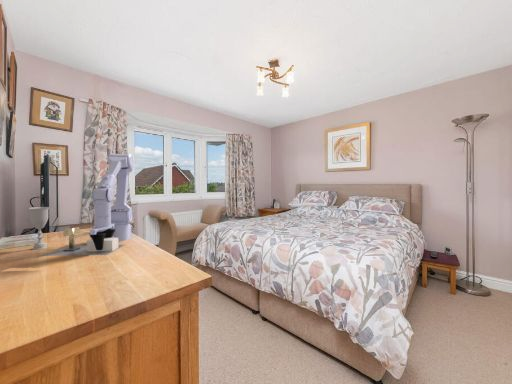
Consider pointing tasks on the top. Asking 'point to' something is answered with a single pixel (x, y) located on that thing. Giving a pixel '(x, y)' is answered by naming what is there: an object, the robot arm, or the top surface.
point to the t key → (71, 232)
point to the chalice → (39, 223)
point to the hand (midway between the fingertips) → (103, 247)
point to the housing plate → (78, 251)
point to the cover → (104, 244)
